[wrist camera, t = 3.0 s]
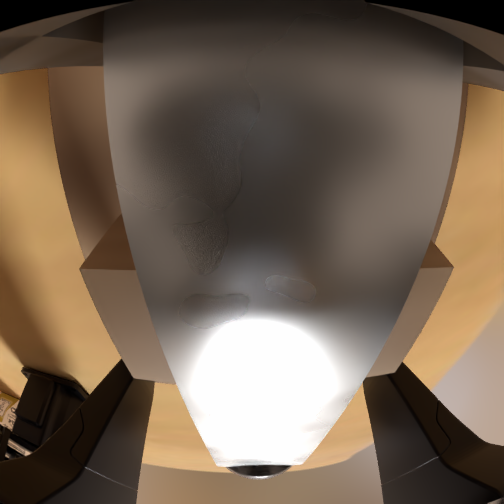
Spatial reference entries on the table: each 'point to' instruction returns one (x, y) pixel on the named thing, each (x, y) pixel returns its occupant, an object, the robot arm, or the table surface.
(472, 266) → the table surface
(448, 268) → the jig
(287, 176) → the shaft
